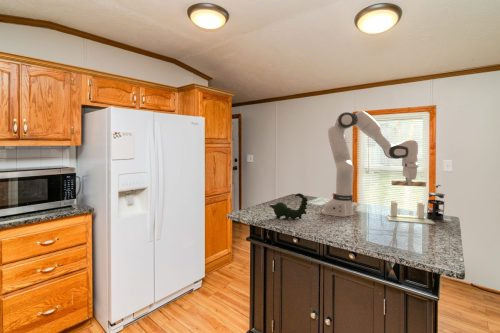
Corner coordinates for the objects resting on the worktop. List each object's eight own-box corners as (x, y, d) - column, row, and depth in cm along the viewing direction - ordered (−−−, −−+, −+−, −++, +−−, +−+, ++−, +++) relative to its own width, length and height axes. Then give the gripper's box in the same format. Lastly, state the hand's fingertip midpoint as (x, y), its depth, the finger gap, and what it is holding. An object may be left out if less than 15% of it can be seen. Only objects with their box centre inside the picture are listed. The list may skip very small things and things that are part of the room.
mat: (389, 220, 174) (389, 219, 174) (386, 217, 181) (386, 216, 181) (435, 224, 166) (435, 223, 166) (431, 220, 173) (431, 219, 173)
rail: (392, 185, 182) (392, 180, 181) (391, 184, 184) (391, 180, 184) (426, 186, 175) (426, 182, 175) (424, 185, 178) (424, 181, 178)
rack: (389, 216, 183) (390, 202, 182) (388, 214, 188) (388, 200, 187) (426, 219, 176) (427, 204, 175) (424, 217, 181) (424, 202, 180)
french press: (442, 222, 170) (444, 186, 168) (424, 219, 177) (426, 185, 174) (445, 218, 179) (447, 184, 176) (428, 215, 185) (430, 182, 183)
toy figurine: (304, 219, 183) (269, 215, 187) (307, 193, 181) (271, 188, 185) (305, 224, 174) (267, 219, 178) (308, 195, 172) (270, 191, 176)
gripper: (400, 162, 189) (399, 181, 191) (407, 165, 170) (406, 186, 171) (410, 162, 187) (409, 182, 189) (419, 165, 168) (417, 187, 169)
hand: (408, 184), depth 180 cm, fingers closed on rail, 3 cm apart
